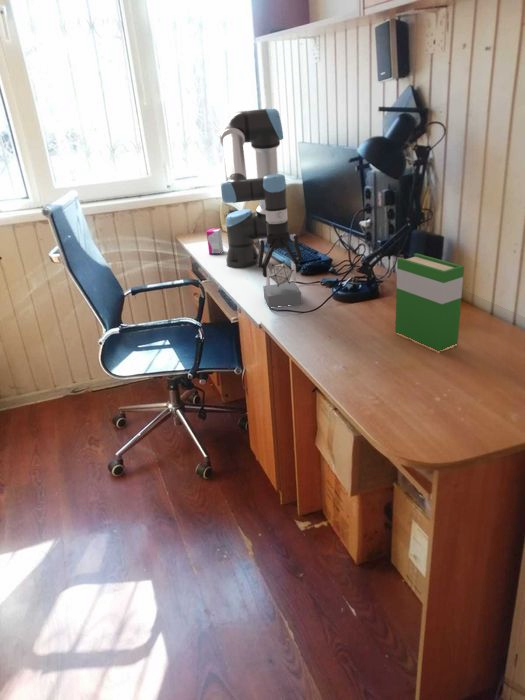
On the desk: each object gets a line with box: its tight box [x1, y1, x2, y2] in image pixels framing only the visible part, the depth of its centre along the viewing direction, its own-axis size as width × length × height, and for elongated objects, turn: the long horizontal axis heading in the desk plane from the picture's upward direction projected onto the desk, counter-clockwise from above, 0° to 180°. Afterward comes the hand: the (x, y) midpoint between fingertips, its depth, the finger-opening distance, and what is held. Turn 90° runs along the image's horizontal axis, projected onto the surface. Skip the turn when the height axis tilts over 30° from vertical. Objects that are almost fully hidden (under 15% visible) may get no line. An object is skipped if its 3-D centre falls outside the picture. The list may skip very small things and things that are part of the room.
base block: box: [263, 281, 303, 309], centre depth 200 cm, size 12×12×5 cm
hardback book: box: [394, 253, 465, 351], centre depth 157 cm, size 18×7×24 cm, turn 30°
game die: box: [269, 261, 294, 286], centre depth 197 cm, size 9×8×10 cm
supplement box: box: [206, 228, 224, 255], centre depth 266 cm, size 6×6×12 cm
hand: (281, 282), depth 198 cm, fingers open, 9 cm apart
